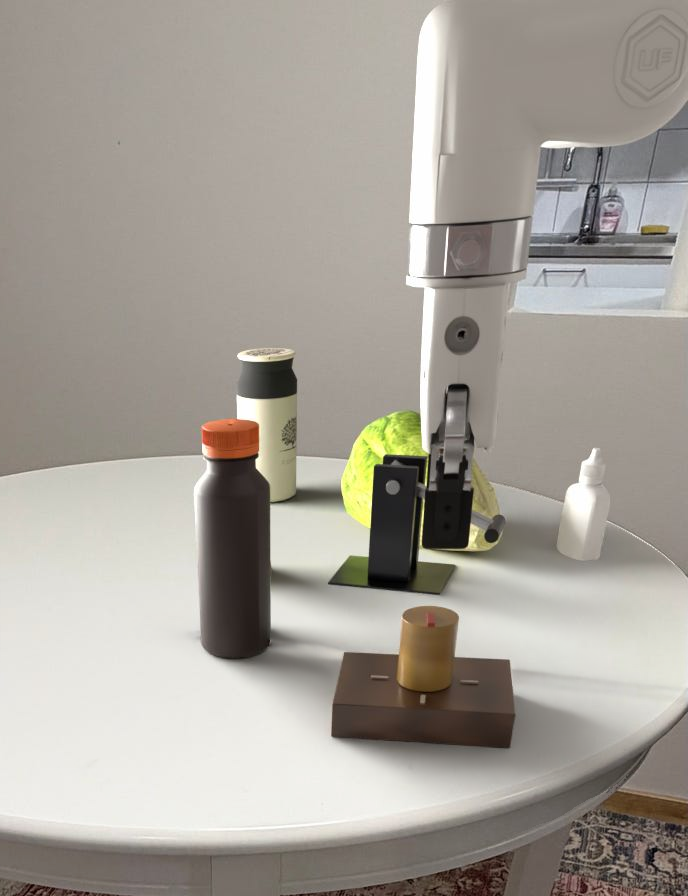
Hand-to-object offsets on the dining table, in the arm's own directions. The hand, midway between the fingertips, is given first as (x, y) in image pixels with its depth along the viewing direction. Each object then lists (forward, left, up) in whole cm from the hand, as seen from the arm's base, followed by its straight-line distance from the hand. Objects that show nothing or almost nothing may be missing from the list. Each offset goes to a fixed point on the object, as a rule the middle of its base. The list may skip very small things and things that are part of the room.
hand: (445, 525), depth 71 cm
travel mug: (+23, -63, -16) cm, 69 cm away
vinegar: (+18, -12, -16) cm, 27 cm away
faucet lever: (0, -29, -8) cm, 30 cm away
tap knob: (0, 0, -12) cm, 12 cm away
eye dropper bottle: (-16, -39, -16) cm, 45 cm away
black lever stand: (+4, -30, -16) cm, 34 cm away
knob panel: (0, 0, -16) cm, 16 cm away
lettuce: (+1, -44, -16) cm, 47 cm away
